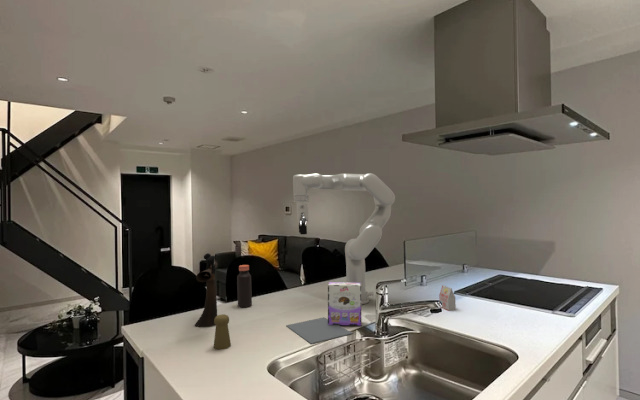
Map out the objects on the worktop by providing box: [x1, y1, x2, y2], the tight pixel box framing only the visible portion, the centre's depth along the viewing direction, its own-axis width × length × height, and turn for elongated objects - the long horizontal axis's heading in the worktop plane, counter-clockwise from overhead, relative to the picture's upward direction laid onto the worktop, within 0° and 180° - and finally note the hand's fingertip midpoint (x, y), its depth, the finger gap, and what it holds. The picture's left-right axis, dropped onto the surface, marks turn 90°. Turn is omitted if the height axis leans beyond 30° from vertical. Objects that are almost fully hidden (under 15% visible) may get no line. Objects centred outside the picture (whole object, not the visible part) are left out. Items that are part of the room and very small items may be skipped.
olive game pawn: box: [213, 314, 232, 351], centre depth 126 cm, size 6×6×11 cm
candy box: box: [327, 281, 362, 326], centre depth 146 cm, size 14×6×16 cm, turn 84°
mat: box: [285, 317, 354, 345], centre depth 139 cm, size 18×22×1 cm
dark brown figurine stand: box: [194, 252, 218, 328], centre depth 149 cm, size 31×10×30 cm, turn 11°
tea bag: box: [438, 285, 457, 312], centre depth 163 cm, size 4×7×10 cm, turn 16°
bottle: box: [236, 264, 253, 309], centre depth 175 cm, size 7×7×20 cm
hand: (302, 233), depth 176 cm, fingers open, 9 cm apart
